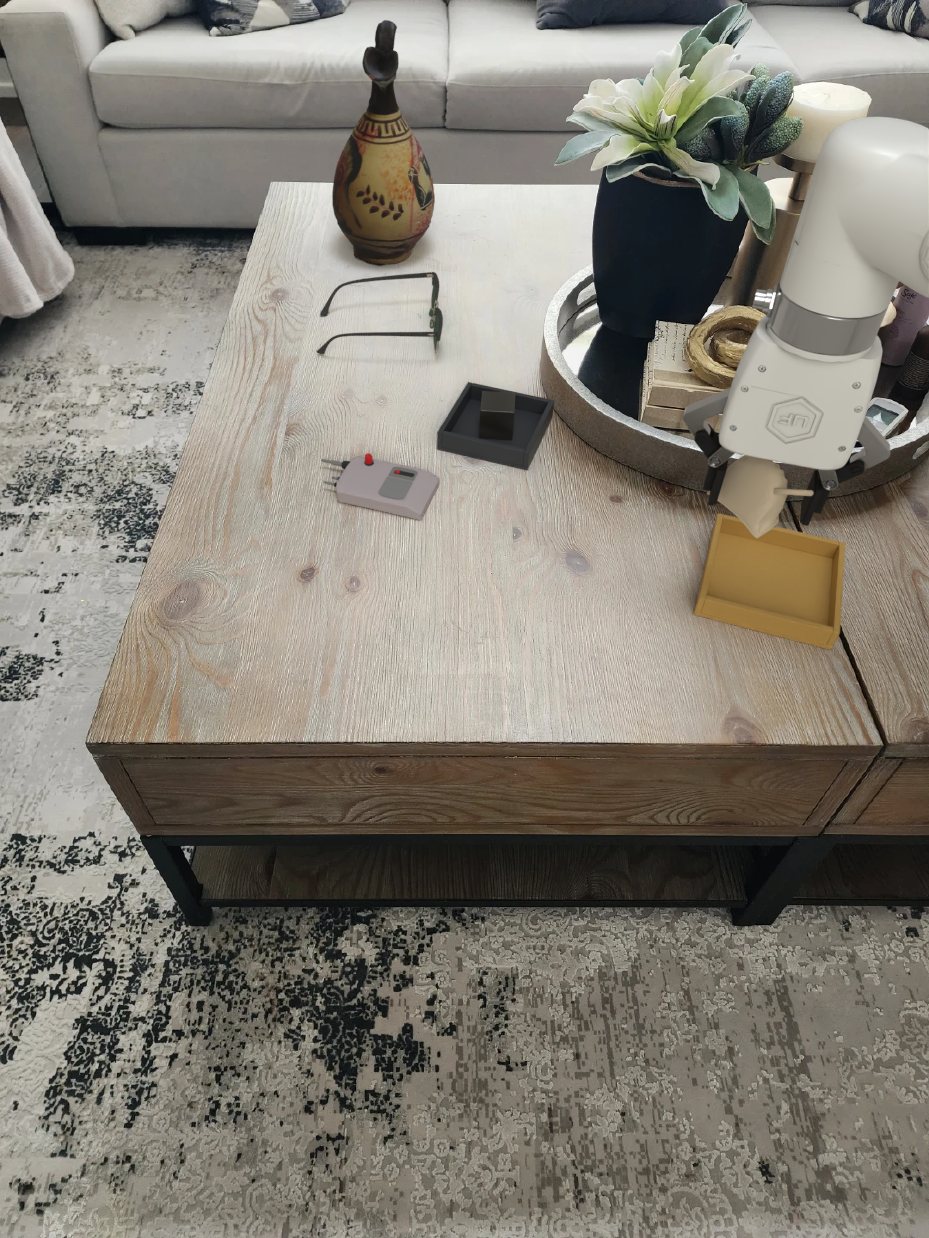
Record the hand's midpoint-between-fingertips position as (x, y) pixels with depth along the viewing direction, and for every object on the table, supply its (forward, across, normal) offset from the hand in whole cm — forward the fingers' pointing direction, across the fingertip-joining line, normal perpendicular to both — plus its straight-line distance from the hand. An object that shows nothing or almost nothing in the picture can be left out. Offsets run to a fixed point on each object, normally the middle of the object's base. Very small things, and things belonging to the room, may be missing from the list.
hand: (758, 504), depth 74 cm
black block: (+13, -30, +21) cm, 38 cm away
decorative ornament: (+1, 0, 0) cm, 1 cm away
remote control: (+14, -39, +6) cm, 42 cm away
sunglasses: (+13, -51, +37) cm, 65 cm away
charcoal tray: (+13, -30, +21) cm, 38 cm away
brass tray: (+14, +4, +5) cm, 15 cm away
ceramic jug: (+13, -60, +61) cm, 87 cm away
